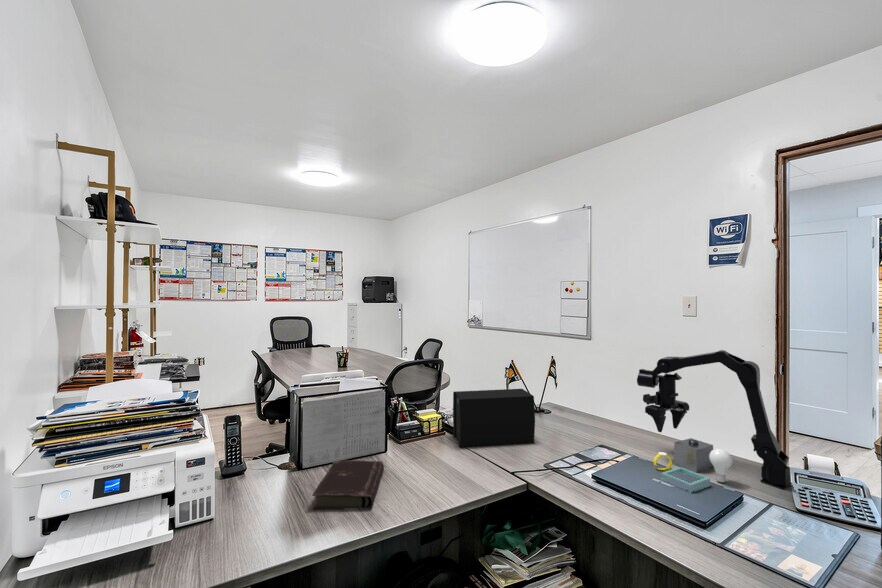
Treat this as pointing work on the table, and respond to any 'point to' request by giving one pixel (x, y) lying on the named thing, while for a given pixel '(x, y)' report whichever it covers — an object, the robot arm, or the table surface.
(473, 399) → the uninterruptible power supply
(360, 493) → the diary
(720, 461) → the lightbulb
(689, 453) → the unit
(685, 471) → the tray
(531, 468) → the table surface
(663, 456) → the watch
